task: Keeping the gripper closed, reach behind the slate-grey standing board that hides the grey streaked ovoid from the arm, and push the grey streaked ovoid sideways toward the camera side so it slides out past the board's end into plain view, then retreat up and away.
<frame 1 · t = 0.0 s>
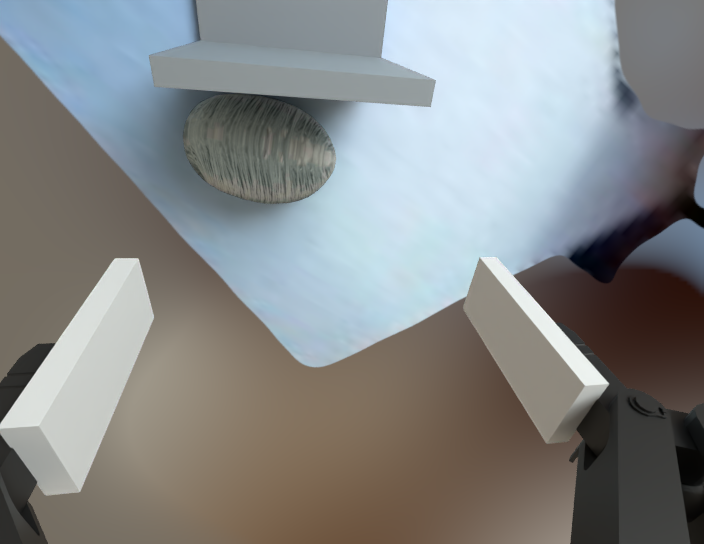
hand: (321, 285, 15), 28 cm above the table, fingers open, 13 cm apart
grey screen: (294, 58, 34), on the table
grey streaked ovoid: (264, 138, 38), on the table
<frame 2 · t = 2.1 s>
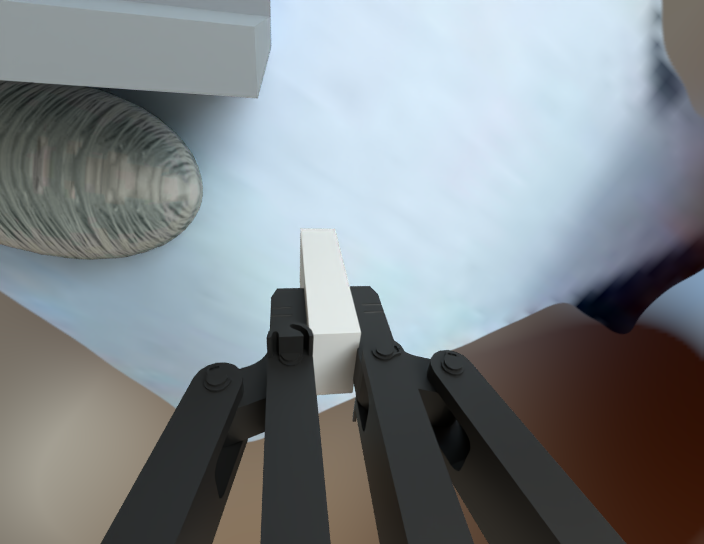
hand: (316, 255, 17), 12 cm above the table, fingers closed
grey screen: (121, 16, 20), on the table
grey streaked ovoid: (101, 150, 24), on the table
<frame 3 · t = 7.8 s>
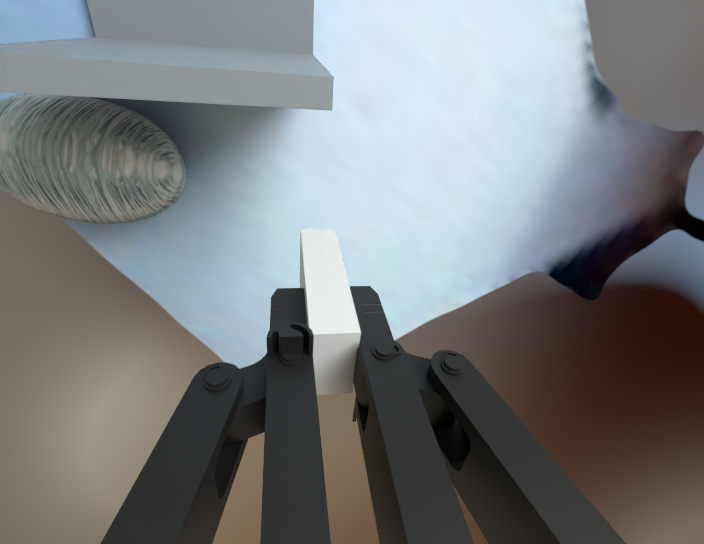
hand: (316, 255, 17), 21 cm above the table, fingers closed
grey screen: (212, 56, 30), on the table
grey streaked ovoid: (111, 146, 33), on the table
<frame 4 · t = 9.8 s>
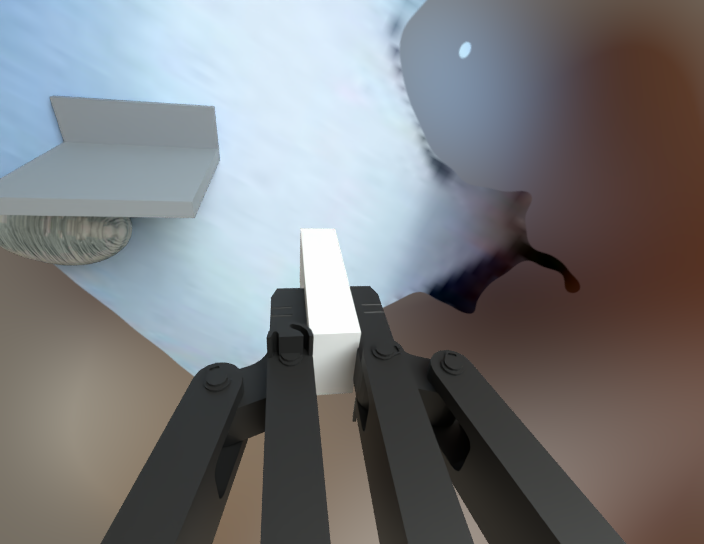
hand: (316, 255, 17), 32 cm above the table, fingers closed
grey screen: (147, 150, 43), on the table
grey streaked ovoid: (78, 207, 46), on the table
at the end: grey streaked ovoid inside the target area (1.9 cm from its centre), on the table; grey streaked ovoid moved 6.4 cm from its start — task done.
